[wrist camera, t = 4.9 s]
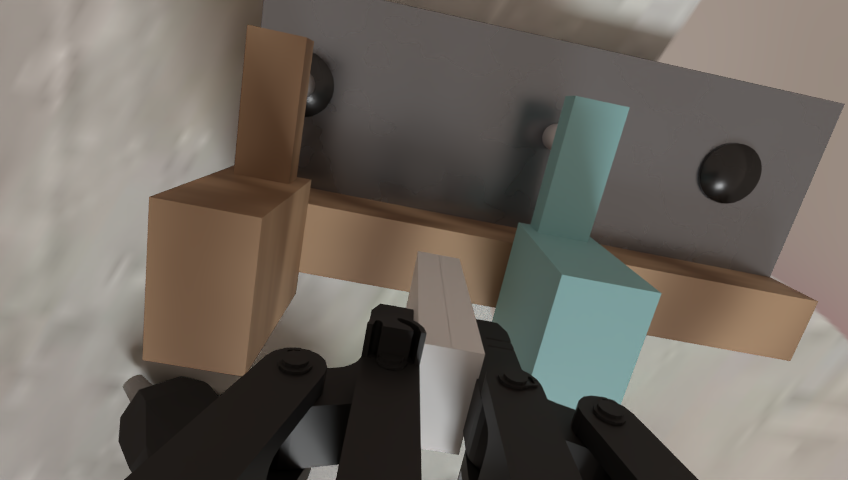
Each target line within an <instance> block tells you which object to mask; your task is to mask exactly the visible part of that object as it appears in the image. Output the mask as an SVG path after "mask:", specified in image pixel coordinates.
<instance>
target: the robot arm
mask: <svg viewBox="0 0 848 480" xmlns="http://www.w3.org/2000/svg"><path fill="white" fill-rule="evenodd" d="M463 436H464V441H465V448H466V450H465V454H464V457H463V461H462V465H461V469H460V472H459V476H458V480H698V479H697V478H696V477H695V476H694V475H693V474H692V473H691V472H690V471H689V470H688V469H687V468H686V467H685V466H684V465H683V464H682V463H681V462H680V461H679V460H678V459H677V458H676V457H675V456H674V455H673V454H672V453H671V451H670V450H669V449H668V448H667V447H666V446H665V445H664V444H663V443H662V442H661V441H660V440H659V439H658V438H657V437H656V436H655V435H654V434H653V433H652V432H651V431H650V430H649V429H648V428H647V427H646V426H645V425H644V424H643V423H642V422H641V421H640V420H639V419H638V418H637V417H636V416H635V415H634V414H633V413H631V412H630V411H629V410H628V409H626V408H625V407H624V406H622V405H620V404H618V403H617V402H616V401H614V400H611V399H607V398H606V397H599V396H592V395H591V396H584V397H582V398H581V399H580V400H579V401H578V404H577V407H576V410H575V409H572V408H569V407H566V406H564V405H561V404H558V403H556V402H553V401H551V400H548V399H547V397H546V394H545V392H544V390H543V387H542V385H541V384H540V383H539V381H538V380H537V379H536V378H535V377H533V376H532V375H531V374H529V373H527V372H525V371H523V370H522V369H521V366H520V364H519V361H518V358H517V356H516V353H515V351H514V348H513V346H512V343H511V340H510V338H509V335H508V333H507V331H505V330H504V329H503V328H502V327H501V326H500V325H499V324H498V323H495V322H489V321H484V320H478V319H476V318H475V315H474V311H473V307H472V303H471V300H470V296H469V292H468V289H467V285H466V281H465V277H464V274H463V270H462V266H461V263H460V259H458V258H453V257H448V256H442V255H437V254H431V253H426V252H420V251H418V253H417V258H416V263H415V268H414V272H413V277H412V282H411V287H410V292H409V297H408V302H407V307H406V308H402V307H396V306H391V305H385V304H379V305H378V306H377V307H375V308H374V309H373V310H372V312H371V316H370V320H369V322H368V323H367V329H366V334H365V340H364V345H363V351H362V356H361V358H360V359H359V360H358V361H357V362H355V363H353V364H351V365H349V366H345V367H339V368H327V365H326V362H325V360H324V359H323V358H322V357H321V356H320V355H319V354H317V353H314V352H312V351H310V350H306V349H301V348H284V349H280V350H275V351H273V352H271V353H270V354H268V355H266V356H265V357H264V358H263V359H262V360H260V361H259V362H258V363H257V364H256V365H255V366H254V367H252V368H251V369H250V370H249V371H248V372H247V373H246V374H244V375H243V376H242V377H241V378H240V379H239V380H238V381H236V382H235V383H234V384H233V385H232V386H231V387H230V388H228V389H227V390H226V391H225V392H224V393H223V394H222V395H220V396H219V397H218V398H217V399H216V400H215V401H214V402H212V403H211V404H210V405H209V406H208V407H207V408H206V409H204V410H203V411H202V412H201V413H200V414H199V415H198V416H196V417H195V418H194V419H193V420H192V421H191V422H190V423H188V424H187V425H186V426H185V427H184V428H183V429H182V430H180V431H179V432H178V433H177V434H176V435H175V436H174V437H172V438H171V439H170V440H169V441H168V442H167V443H166V444H164V445H163V446H162V447H161V448H160V449H159V450H158V451H156V452H155V453H154V454H153V455H152V456H151V457H150V458H148V459H147V460H146V461H145V462H144V463H143V464H142V465H140V466H139V467H138V468H137V469H136V470H135V471H134V472H132V473H131V474H130V475H129V476H128V477H127V478H126V479H124V480H307V478H308V476H309V473H310V470H311V467H319V466H328V465H337V464H339V467H338V472H337V477H336V480H421V449H425V450H432V451H438V452H444V453H451V454H457V455H459V452H460V448H461V444H462V440H463Z"/></svg>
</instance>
